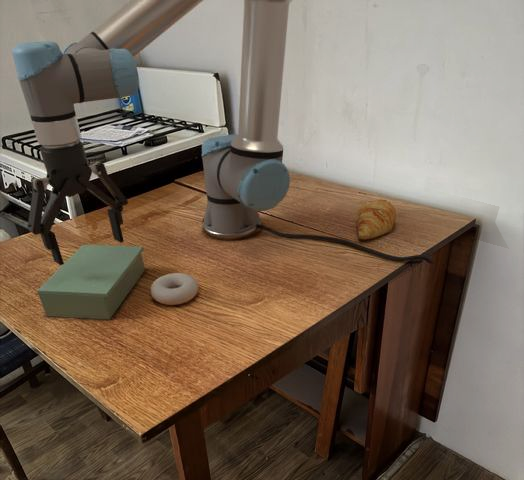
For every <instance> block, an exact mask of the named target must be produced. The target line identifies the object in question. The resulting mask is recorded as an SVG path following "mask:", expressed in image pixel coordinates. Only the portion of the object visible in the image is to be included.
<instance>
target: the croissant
mask: <svg viewBox="0 0 524 480" xmlns="http://www.w3.org/2000/svg"><path fill="white" fill-rule="evenodd" d="M396 218H397V212H396V207H395V206H394V205H393V204H392V203H391V202H390V201H388V200H386V199H375V200H370V201H368V202H366V203H364V204H363V205H361V206H360V207H359V208H358V209H357V211H356V212H355V224H356V226H357V233H358V238H359V239H360V240H370V239H375V238H377V237H380V236H382V235H385V234H387V233H390V232H391V231H393V228H394V226H395V225H394V224H395V221H396Z"/></svg>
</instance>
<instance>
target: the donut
mask: <svg viewBox="0 0 524 480" xmlns="http://www.w3.org/2000/svg"><path fill="white" fill-rule="evenodd" d="M198 292H199V284H198V281H197V280H196V279H195V278H194V276H192V275H190V274H187V273H183V272H174V273H167V274H165V275H161V276H160V277H158V278H157V279H156V280H154V281H153V282H152V284H151V286H150V295H151V297H152V298H153V299H154V300H155V302H157V303H160V304H162V305H166V306H176V305H182V304H185V303H187V302H189V301H191V300H192V299H193V298H195V297H196V295H197V294H198Z"/></svg>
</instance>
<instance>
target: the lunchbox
mask: <svg viewBox="0 0 524 480" xmlns="http://www.w3.org/2000/svg"><path fill="white" fill-rule="evenodd" d="M143 259H144V258H143V255H142V253H141V254H140V256H139V257H138V258H137V259H136V261H135V262H134V263H133V265H132V266H131V267H130V269H129V270H128V271H127V272H126V274H125V275H124V276H123V278H122V279H121V280H120V282H119V283H118V284H117V285H116V287H115V288H114V289H113V291H112V292H111V293H110V295H109V296H108V297H91V296H72V295H53V294H38V297H39V299H40V302H41V305H42V308H43V311H44V314H45V316H46V317H57V318H75V319H93V320H108V321H109V320H111V319H112V316H114V314H115V313H116V311H117V310H118V309H119V307H120V306H121V304H122V303H123V301H124V300H125V299H126V297H127V296H128V294H129V293H130V292H131V290H132V289H133V288H134V286H135V285H136V283H137V282H138V280H139V279H140V278H141V276H142V275H143V273H145V271H146V270H145V269H146V268H145V264H144V260H143Z"/></svg>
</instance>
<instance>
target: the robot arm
mask: <svg viewBox="0 0 524 480" xmlns="http://www.w3.org/2000/svg"><path fill="white" fill-rule="evenodd" d="M203 1H204V0H129V1H127V2H126V3H125V4H124V5H122V6H121V7H120V8H119V9H118V10H116V11H115V12H114V13H113V14H111V15H110V16H109V17H108V18H106V19H105V20H104V21H103V22H101V23H99V25H97V27H95V28H94V29H93V30H92V31H91V32H90V33H88V34H86V35H85V36H84V37H83V38H82V39H80V40H79V41H78V42H73V43H70V44H68V45H67V46H65V47H64V48H63V50H61V48H60V45H59V43H57V42H56V41H50V40H45V41H44V40H43V41H30V42H22V43H18V44H16V45H14V47H12V48H13V49H12V57H13V62H14V65H15V69H16V74H17V79H18V81H19V82H18V83H19V85H20V88H21V92H22V93H23V98H24V101H25V104H26V107H27V109H28V113H29V116H30V120H31V124H32V128H33V131H34V134H35V137H36V141H37V143H38V144H39V145H40V148H39V151H40V155H41V158H42V161H43V165H44V167H45V170H46V177H39V178H38V177H35V176H32V178H30V183H31V184H30V185H31V188H32V194H31V201H30V205H29V206H30V208H29V214H28V221H27V227H26V228H27V231H29V232H30V233H31V234H34V235H36V236H37V235H40V237H41V240H42V243H43V246H44V248H45V249H46V250H48V251H50V252H51V256H52V259H53V261H54V263H56V264H58V265H59V266H62V265H63V264H64V263H65V261H64V259H63V256H62V253H61V250H60V249H61V248H60V246H59V243H58V240H57V237H56V234H55V232H53V231H52V227H53V226H54V223H55V221H56V218H57V216H58V213H59V211H60V209H61V206H62V203H64V202H65V200H66V198H67V197H68V198H71V197H74V196H76V195H82V194H85V192H86V191H88V192H89V193H91V194H92V195H93V196H94V197H96V198H97V199H99V200H100V201H102V202H103V203H104V204H105V205H107V206H108V207H110V208H108V209H107V210H106V211H107V215H108V219H109V223H110V227H111V232H112V236H113V240H115V241H117V242H118V243H120V244H121V243H124V241H125V240H124V236H123V231H122V228H121V227H122V226H123V225H124V219H123V215H122V212H123V210H124V206H127V205H128V204H129V200H128V199H127V197H126V196H125V195H124V193H123V192H122V191H121V190H120V188H119V187H118V186H117V184H116V183H115V181H113V179H112V178H111V177H110V175H109V174H108V171H107V168H106V165H105V164H104V163H103V162H100V161H98V160H94V161H93V162H92V164H90V165H89V164H88V158H87V154H86V150H85V146H84V143H83V142H82V141H81V139H82V134H81V130H80V126H79V121H78V118H77V113H76V110H75V104H83V103H89V102H97V101H105V100H112V99H123V98H125V97H131V96H134V95H136V94H137V93H138V90H139V87H140V79H139V72H138V67H137V64H136V61H135V58H134V57H136V56H137V55H138V54H139V53H140V52H142V51H143V50H144V49H145V48H147V47H148V46H149V45H150V44H151V43H153V42H154V41H155V40H156V39H158V38H159V37H160V36H162V35H163V34H164V33H165V32H166V31H168V30H169V29H170V28H171V27H172V26H174V25H175V24H176V23H178V21H180V20H181V19H183V17H185V16H186V15H187V14H188V13H190V12H191V11H192V10H193V9H195V8H196V7H197V6H199V5H200V4H201V3H202V2H203ZM293 1H294V0H243V19H242V20H243V21H242V42H241V63H240V64H241V65H240V82H239V83H240V84H239V85H240V86H239V108H238V129H237V130H238V131H237V133H235V134H234V133H233V134H225V135H219V136H214V137H209V138H207V139H205V140H204V141H203V142H202V144H201V159H202V166H203V175H204V182H205V191H206V198H207V199H206V200H207V203H206V207H205V211H204V216H203V218H202V222H201V223H202V225H203V226H202V227H203V232H204V234H205V235H206V236H208V237H210V238H213V239H215V240H223V241H232V240H241V239H246V238H249V237H252V236H254V235H255V234H257V233H259V231H260V230H263V231H267V232H269V233H271V234H274V235H276V236H279V237H284V238H292V239H312V240H321V241H330V242H335V243H338V244H339V243H340V244H344V245H347V246H350V247H353V248H356V249H358V250H361V251H364V252H366V253H369V254H373V255H375V256H378V257H381V258H383V259H386V260H391V261H395V262H407V261H409V262H410V261H413V260H423V261H425V262H427V263H428V264H430V265H433V264H434V261H433V259H432V258H431V257H429V256H427V255H425V254H414V255H409V256H397V255H391V254H388V253H384V252H382V251H378V250H376V249H373V248H371V247H367V246H364V245H361V244H359V243H357V242H354V241H350V240H347V239H343V238H338V237H333V236H326V235H319V234H307V233H306V234H303V233H286V232H281V231H278V230H275V229H274V228H272V227H268V226H266V225H262V219H261V216H260V213H259V212H266V211H269V210H272V209H274V208H275V207H277V206H278V205H279V204H280V203H281V202H282V201H283V200H284V198H286V196H287V194H288V192H289V188H290V184H291V175H290V171H289V170H288V168H287V166H286V164H284V163H283V158H284V145H283V143H281V141H280V140H279V139H278V138H279V137H278V136H279V126H280V113H281V101H282V91H283V81H284V80H283V78H284V67H285V58H286V57H285V55H286V46H287V45H286V44H287V34H288V21H289V10H290V5H291V3H292V2H293ZM92 174H93V175H95V176H97V178H98V179H99V180H100V181H101V183H102V184H103V185H104V186H105V188H106V189H107V190H108V191H109V193H110V194H111V196H112V197H113V198H114V199H115V200H114V199H112V197H110V196H109V195H108V194H106V193H104V191H102V190H101V189H100V188H98V186H96V185H95V184H94V183H92V182H91V181H90V180H91V177H92ZM48 185H50V187H52V189H51V191H50V193H49V195H50V197H49V199H48V202H47V204H46V207H45V209H44V204H45V197H46V191H47V189H48ZM43 210H44V211H43ZM121 225H122V226H121Z"/></svg>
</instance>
